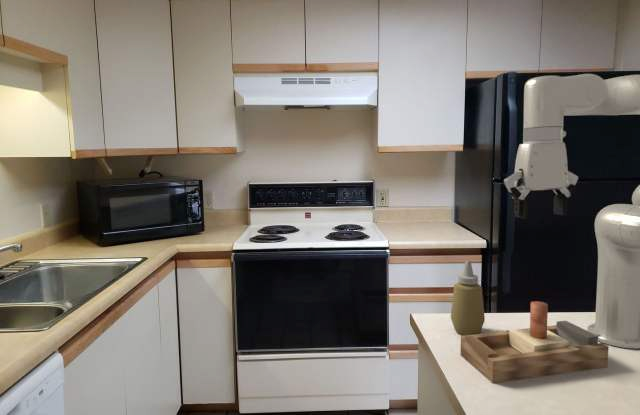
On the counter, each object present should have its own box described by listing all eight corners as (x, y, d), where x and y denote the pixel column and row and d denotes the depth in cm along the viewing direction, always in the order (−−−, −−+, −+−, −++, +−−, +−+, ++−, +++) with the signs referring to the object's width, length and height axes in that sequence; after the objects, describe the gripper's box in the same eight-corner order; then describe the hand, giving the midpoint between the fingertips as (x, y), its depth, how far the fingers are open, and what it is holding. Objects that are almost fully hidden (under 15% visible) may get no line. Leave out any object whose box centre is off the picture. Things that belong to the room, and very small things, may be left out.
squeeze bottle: (487, 339, 101) (488, 265, 99) (452, 337, 103) (452, 265, 101) (481, 326, 109) (482, 257, 107) (449, 324, 111) (449, 257, 109)
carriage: (541, 340, 95) (542, 296, 94) (568, 356, 87) (570, 308, 86) (509, 344, 93) (510, 299, 92) (533, 361, 86) (535, 312, 84)
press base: (563, 342, 98) (564, 317, 98) (607, 366, 87) (608, 338, 86) (460, 355, 94) (460, 329, 93) (492, 383, 82) (493, 353, 81)
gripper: (564, 136, 96) (562, 212, 98) (495, 138, 92) (494, 216, 94) (591, 134, 88) (588, 216, 90) (517, 136, 85) (516, 221, 87)
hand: (540, 216), depth 92 cm, fingers open, 9 cm apart
